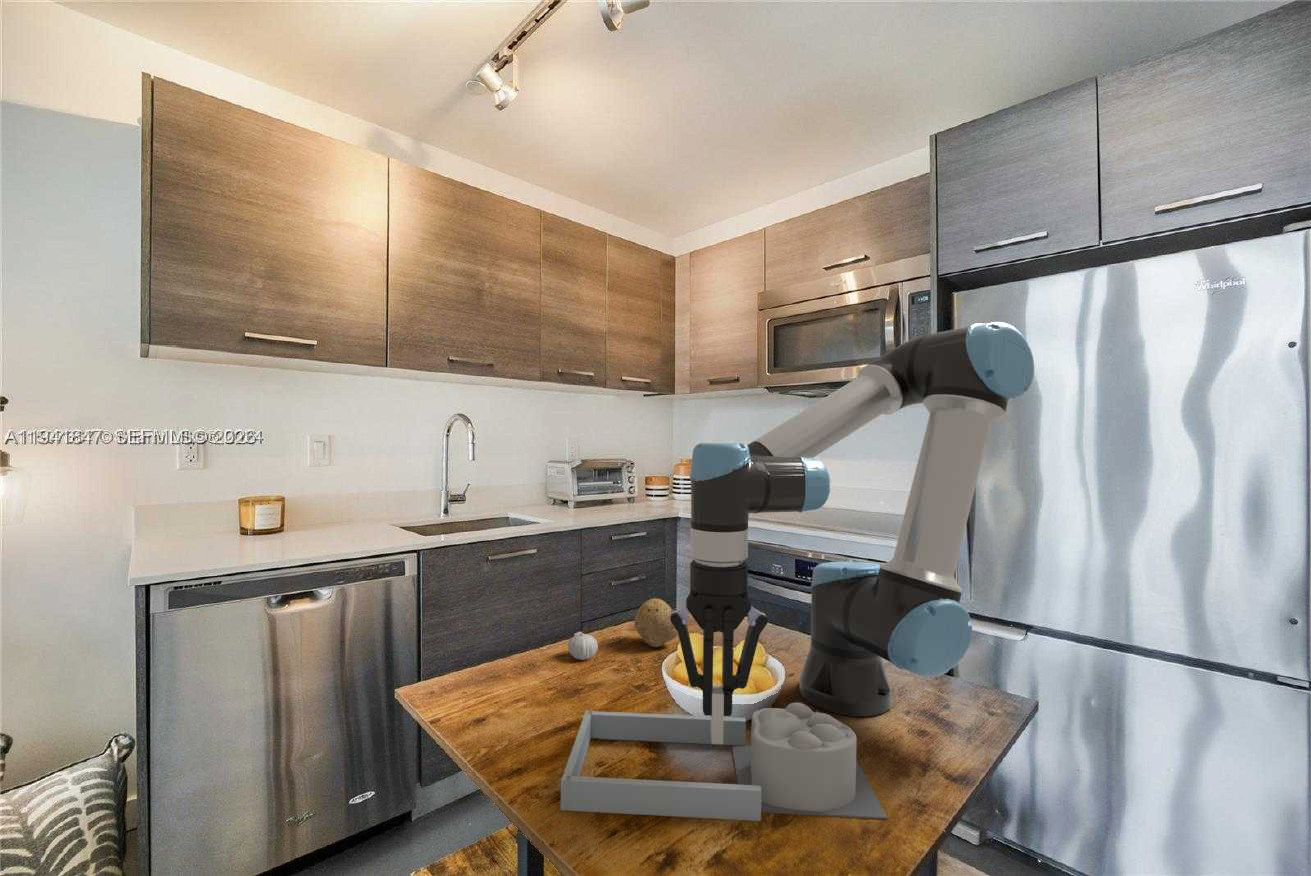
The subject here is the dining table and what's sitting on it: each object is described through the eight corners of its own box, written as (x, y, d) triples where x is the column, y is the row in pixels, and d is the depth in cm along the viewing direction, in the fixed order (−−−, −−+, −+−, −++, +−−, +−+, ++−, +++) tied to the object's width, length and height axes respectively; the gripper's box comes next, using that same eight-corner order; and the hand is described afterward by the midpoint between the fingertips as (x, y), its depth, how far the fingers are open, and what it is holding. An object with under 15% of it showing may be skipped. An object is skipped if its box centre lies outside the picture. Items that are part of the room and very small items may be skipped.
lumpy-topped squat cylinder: (749, 756, 79) (751, 694, 79) (846, 766, 77) (848, 702, 77) (751, 804, 68) (753, 733, 68) (864, 817, 66) (865, 743, 66)
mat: (851, 752, 80) (851, 751, 80) (887, 819, 66) (887, 817, 66) (731, 746, 81) (731, 745, 81) (742, 811, 67) (742, 809, 67)
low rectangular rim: (744, 741, 83) (745, 718, 83) (760, 820, 66) (761, 790, 66) (585, 734, 84) (585, 710, 84) (560, 810, 67) (561, 780, 67)
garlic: (565, 663, 110) (565, 636, 110) (569, 652, 115) (569, 627, 115) (596, 663, 110) (596, 637, 110) (598, 653, 115) (599, 627, 115)
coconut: (627, 641, 122) (628, 594, 122) (664, 636, 126) (665, 591, 126) (643, 656, 114) (644, 606, 114) (682, 650, 117) (683, 602, 117)
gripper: (764, 554, 78) (762, 725, 78) (669, 552, 78) (668, 722, 79) (773, 567, 70) (771, 756, 70) (668, 565, 71) (666, 752, 71)
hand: (716, 738), depth 75 cm, fingers closed
